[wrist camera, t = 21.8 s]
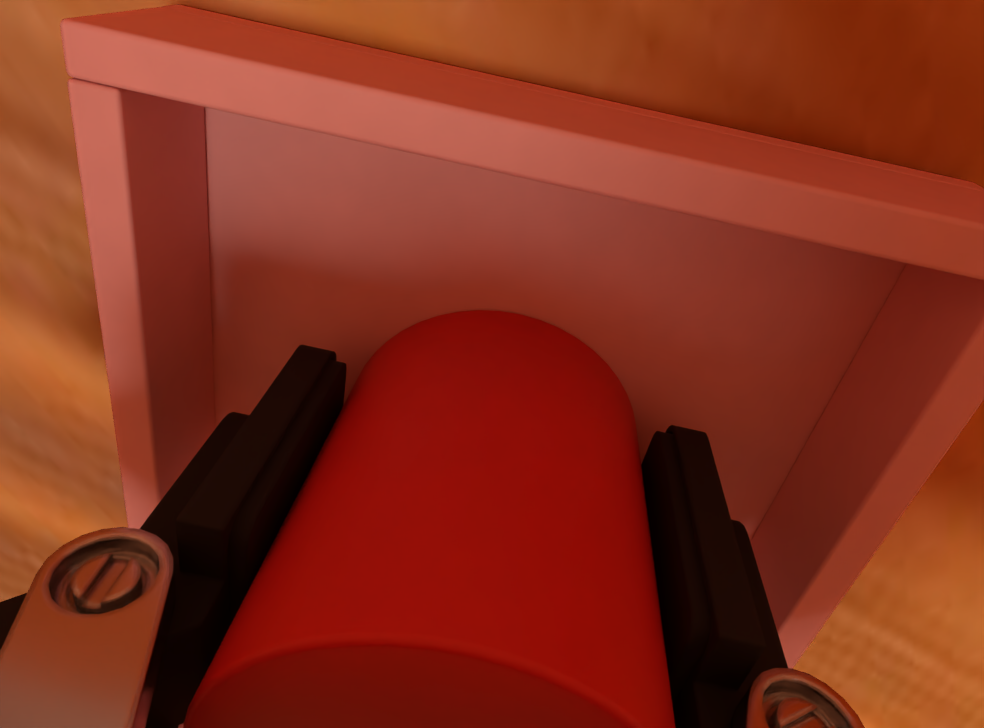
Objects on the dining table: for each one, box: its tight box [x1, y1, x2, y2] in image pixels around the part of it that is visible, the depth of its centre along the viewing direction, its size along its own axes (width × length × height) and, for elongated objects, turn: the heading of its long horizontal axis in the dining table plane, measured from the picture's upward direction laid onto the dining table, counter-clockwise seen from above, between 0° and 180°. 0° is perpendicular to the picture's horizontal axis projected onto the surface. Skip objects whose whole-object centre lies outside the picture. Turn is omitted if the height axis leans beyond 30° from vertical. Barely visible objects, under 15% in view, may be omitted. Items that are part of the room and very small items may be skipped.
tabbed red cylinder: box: [183, 310, 676, 728], centre depth 10 cm, size 8×5×6 cm, turn 169°
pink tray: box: [60, 4, 984, 669], centre depth 12 cm, size 13×11×2 cm
